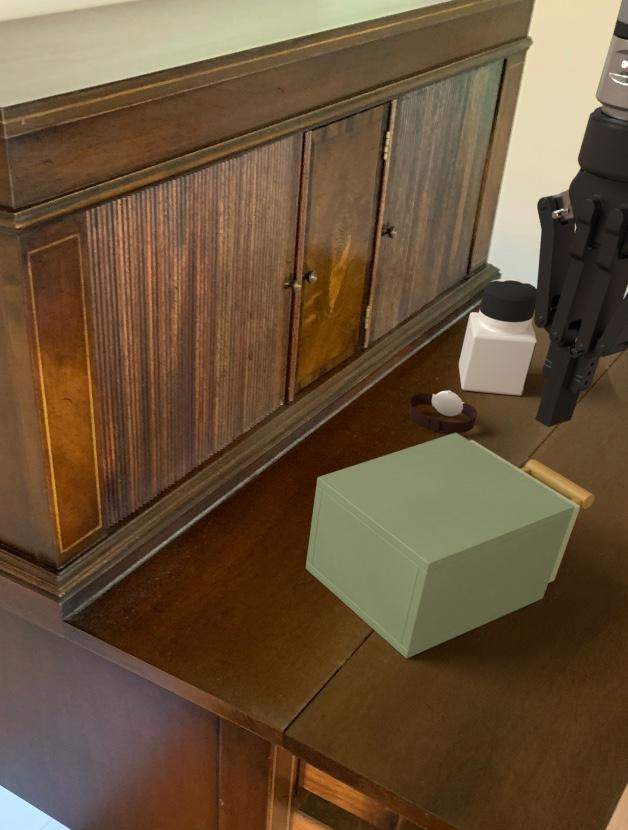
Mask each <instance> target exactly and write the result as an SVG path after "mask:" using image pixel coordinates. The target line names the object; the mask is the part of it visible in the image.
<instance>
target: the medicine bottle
mask: <svg viewBox="0 0 628 830" xmlns="http://www.w3.org/2000/svg"><path fill="white" fill-rule="evenodd" d="M536 292H537V287H536V286H535V285H533V284H531V283H529V282H527V281H525V280H521V279H517V278H509V277H508V278H499V279H494V280H491V281H489V282H488V283H487V284H486V285H485V286H484V289H483V292H482V297H481V302H480V305H479V306H480V307H479V309H478V312H476V311H475V312H474V311H472V312H470V314H469V315H468V321H467V324H466V330H465V333H464V338H463V342H462V347H461V351H460V357H459V360H458V370H459V378H460V387H461V390H462V391H465V392H475V393H476V392H477V393H486V394H487V393H488V394H498V395H508V396H518V397H519V396H522V395H523V393H524V389H525V386H526V383H527V382H526V381H527V379H528V376H529V375H528V374H529V371H530V368H531V364H532V362H533V361H532V360H533V356H534V353H535V349H536V346H537V342H538V341H537V337H536V334H535V330H534V326H533V323H532V322H533V319H534V318H533V317H534V316H535V305H536Z"/></svg>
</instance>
